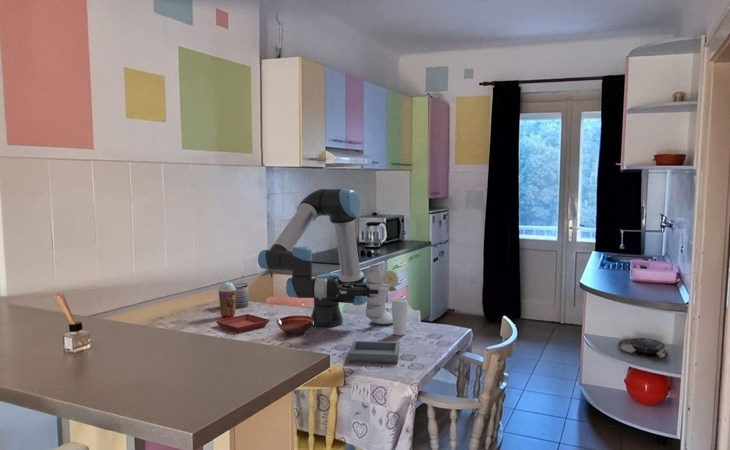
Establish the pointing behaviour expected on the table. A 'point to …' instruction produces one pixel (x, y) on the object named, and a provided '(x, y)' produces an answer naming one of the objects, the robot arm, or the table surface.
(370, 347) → the tray
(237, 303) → the can
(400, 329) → the drinking glass
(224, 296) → the smoothie
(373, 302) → the silver metal bottle
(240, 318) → the plant saucer
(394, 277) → the flower in vase
